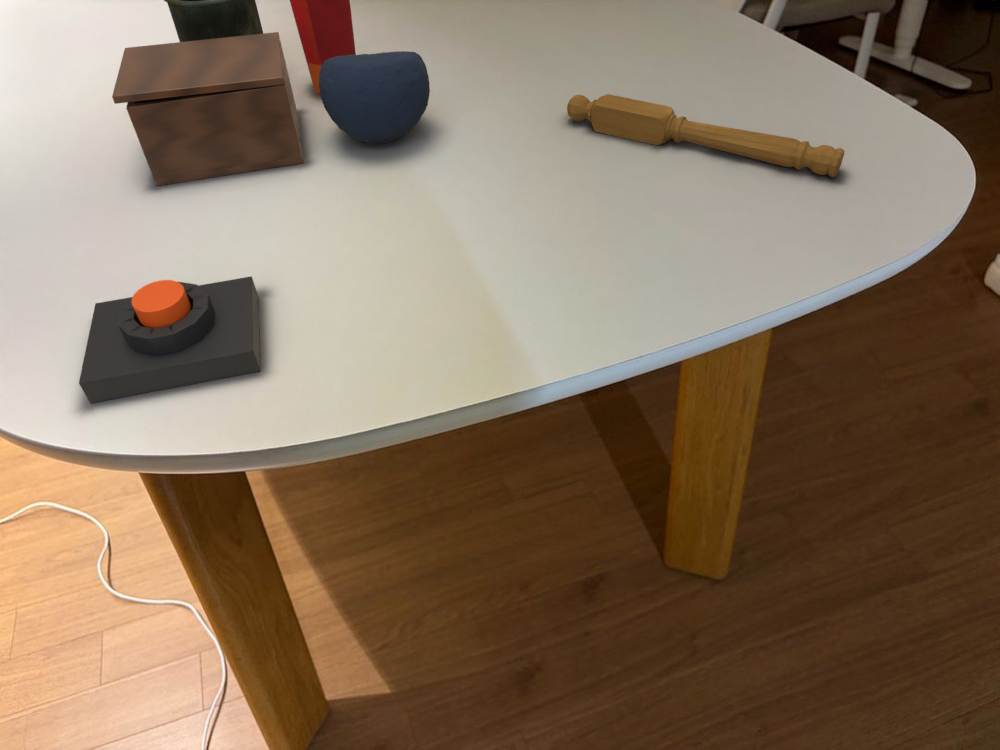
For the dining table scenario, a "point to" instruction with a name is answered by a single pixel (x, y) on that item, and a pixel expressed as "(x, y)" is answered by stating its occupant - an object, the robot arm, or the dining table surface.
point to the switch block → (173, 343)
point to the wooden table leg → (698, 133)
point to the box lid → (199, 67)
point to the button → (161, 303)
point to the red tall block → (323, 32)
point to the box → (218, 132)
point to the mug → (214, 18)
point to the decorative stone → (375, 93)
